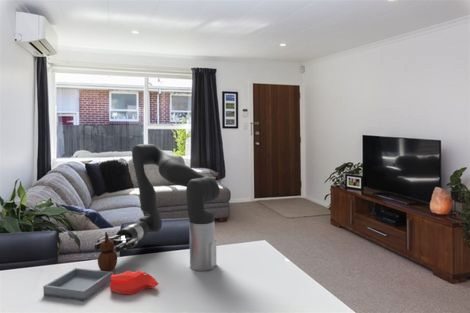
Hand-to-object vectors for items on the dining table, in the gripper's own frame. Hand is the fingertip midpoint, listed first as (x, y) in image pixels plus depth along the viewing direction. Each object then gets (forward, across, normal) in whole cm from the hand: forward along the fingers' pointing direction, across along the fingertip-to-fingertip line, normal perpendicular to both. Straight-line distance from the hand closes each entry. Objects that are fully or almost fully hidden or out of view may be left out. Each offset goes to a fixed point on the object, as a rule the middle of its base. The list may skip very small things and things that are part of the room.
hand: (106, 248), depth 126 cm
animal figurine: (+9, +17, +9) cm, 21 cm away
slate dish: (+13, -1, +8) cm, 16 cm away
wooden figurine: (-1, 0, +9) cm, 9 cm away
